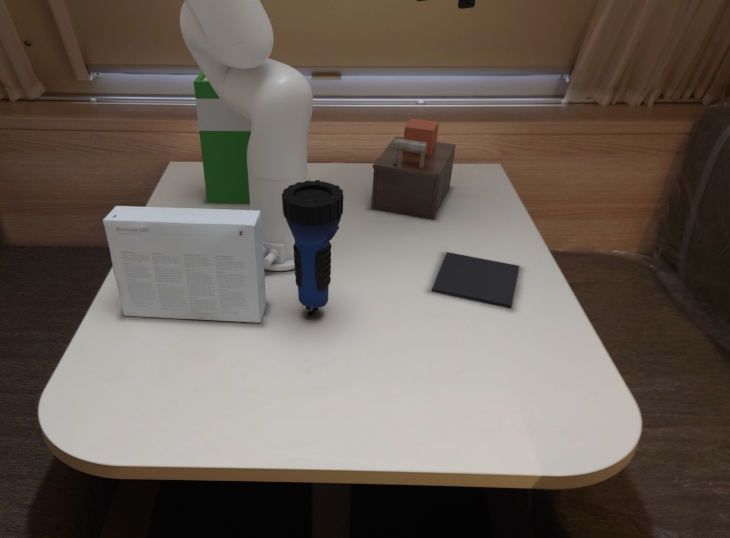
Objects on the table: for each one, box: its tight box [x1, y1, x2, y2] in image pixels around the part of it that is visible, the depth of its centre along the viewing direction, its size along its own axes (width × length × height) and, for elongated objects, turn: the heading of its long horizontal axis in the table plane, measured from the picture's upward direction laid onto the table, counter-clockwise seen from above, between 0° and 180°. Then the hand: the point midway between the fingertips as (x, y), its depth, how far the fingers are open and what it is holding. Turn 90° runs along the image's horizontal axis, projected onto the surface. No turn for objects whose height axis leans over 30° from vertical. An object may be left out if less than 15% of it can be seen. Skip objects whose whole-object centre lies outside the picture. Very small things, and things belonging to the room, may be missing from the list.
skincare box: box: [102, 205, 267, 324], centre depth 83 cm, size 21×5×16 cm, turn 84°
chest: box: [370, 148, 456, 220], centre depth 116 cm, size 16×13×9 cm
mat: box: [431, 251, 520, 309], centre depth 93 cm, size 12×12×1 cm
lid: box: [372, 136, 457, 178], centre depth 112 cm, size 16×13×6 cm
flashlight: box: [282, 179, 344, 318], centre depth 80 cm, size 8×8×20 cm
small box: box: [403, 118, 440, 155], centre depth 113 cm, size 6×6×5 cm
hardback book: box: [193, 71, 252, 204], centre depth 113 cm, size 18×7×24 cm, turn 87°
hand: (444, 4), depth 95 cm, fingers open, 9 cm apart
